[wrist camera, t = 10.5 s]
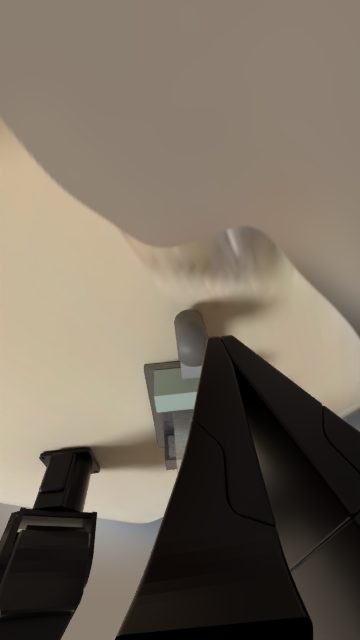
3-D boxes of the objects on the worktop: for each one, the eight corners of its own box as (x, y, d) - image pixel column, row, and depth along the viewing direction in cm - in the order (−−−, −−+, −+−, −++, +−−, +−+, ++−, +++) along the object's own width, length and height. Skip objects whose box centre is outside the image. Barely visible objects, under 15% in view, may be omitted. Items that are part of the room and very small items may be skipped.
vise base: (222, 434, 32) (230, 465, 29) (158, 441, 32) (159, 473, 28) (232, 356, 23) (244, 387, 20) (144, 364, 23) (142, 398, 20)
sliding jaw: (223, 381, 24) (234, 417, 21) (156, 388, 24) (157, 425, 20) (230, 305, 19) (247, 336, 15) (144, 312, 18) (142, 346, 15)
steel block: (206, 419, 28) (218, 479, 23) (174, 422, 28) (178, 484, 23) (207, 393, 25) (221, 455, 20) (171, 397, 25) (176, 460, 20)
